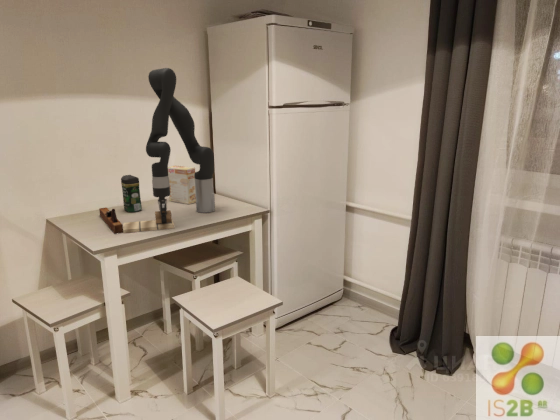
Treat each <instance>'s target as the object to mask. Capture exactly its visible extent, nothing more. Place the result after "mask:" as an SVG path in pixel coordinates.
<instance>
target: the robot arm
mask: <svg viewBox="0 0 560 420" xmlns="http://www.w3.org/2000/svg"><path fill="white" fill-rule="evenodd" d="M176 75H177V74H176V72H175V71H174V70H173V69H172V68H170V67H164V68H158V69H152V70H150V72H149V73H148V76H147V77H148V83H149V86H150V87H151V88H152V90H153V92H154V93H155V95H156V96H157V98H158V99H159V101H158V104H157V106H156V107H155V109H154V111H153V114H152V119H151V130H150V134H149V136H148V140H147V143H146V145H145V152H146V154H147V156H149V158H159V161H158V162H153V163H152V164H151V178H152V179H151V183H152V185H151V186H152V194H153V195H152V196H153V197H154V198H158V199H157V205H158V211H161V220H162V224H164V223H167V220H166V215H167V213H166V211H167V210H168V205H167V204H168V200H167V197H169V196H170V184H169V177H168V167H169V161H170V156H171V150H172V149H171V147H170V144H169V143H168V142H167V141H159V140H160V139H161V138H164V137H167V136H168V133H169V122H170V121H169V119H170V120H171V122H172V123H173V126H174V128H175V129H176V131H177V133H178V134H179V137H180V138H181V141H182V142H183V145H184V147H185V149H186V151H187V153H188V157H189V158H190V160H191V162H192V163H193V164H195V165H199V169H198V171H195V174H194V177H195V194H196V202H195V208H196V212H197V213H201V214H202V213H203V214H204V213H206V214H207V213H211V212H216V201H215V199H216V198H215V191H214V178H213V177H214V173H215V154H214V151H213V149H212V148H211V147H208V146H202V145H200V143H199V142H198V140H197V138H196V135H195V130H196V129H195V122H194V119H193V117H192V114H191V113H190V111H189V109H188V108H187V107H186V106H185V105H184V104H183V103H182V102H181V101H179V100H178V99H177V98H176V97H175V96H174V93H175V91H176V85H177V76H176ZM162 211H165V213H162Z"/></svg>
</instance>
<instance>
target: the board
mask: <svg viewBox="0 0 560 420" xmlns="http://www.w3.org/2000/svg"><path fill="white" fill-rule="evenodd" d="M122 225H123V234H130V233H137V232H149V231H159V230H169V229H175V223H174V221H173V219H172V223H168V224H157V225H156V219H151V220H140V221H131V222H123V224H122Z"/></svg>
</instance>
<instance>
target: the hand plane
mask: <svg viewBox="0 0 560 420" xmlns="http://www.w3.org/2000/svg"><path fill="white" fill-rule="evenodd" d="M98 213H99V217H100V218H101V219H102V220H103V221H104V223H105V224H106V225H107V227H108V228H109V229H110V230H111V232H113V234H116V235H117V233H118V234H122V233H123V225H124V224H123V223H122V222H121V221H120V220H119V219H118V218H117V214H116V208H112V209H111V210H110V209H109V208H108V207H100V208H99V212H98ZM123 234H124V233H123Z"/></svg>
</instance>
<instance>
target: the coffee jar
mask: <svg viewBox="0 0 560 420" xmlns="http://www.w3.org/2000/svg"><path fill="white" fill-rule="evenodd" d="M120 182H121V183H120V184H121V190H122V199H123V203H122V204H123V209H124V210H125V211H126V212H128V213H137V212H140V211H142V209H143V207H142V206H143V205H142V201H141V192H140V179H139V177H137V176H134V175H131V174H127V175H126V174H125V175H123V176H122V177H121V178H120Z"/></svg>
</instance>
